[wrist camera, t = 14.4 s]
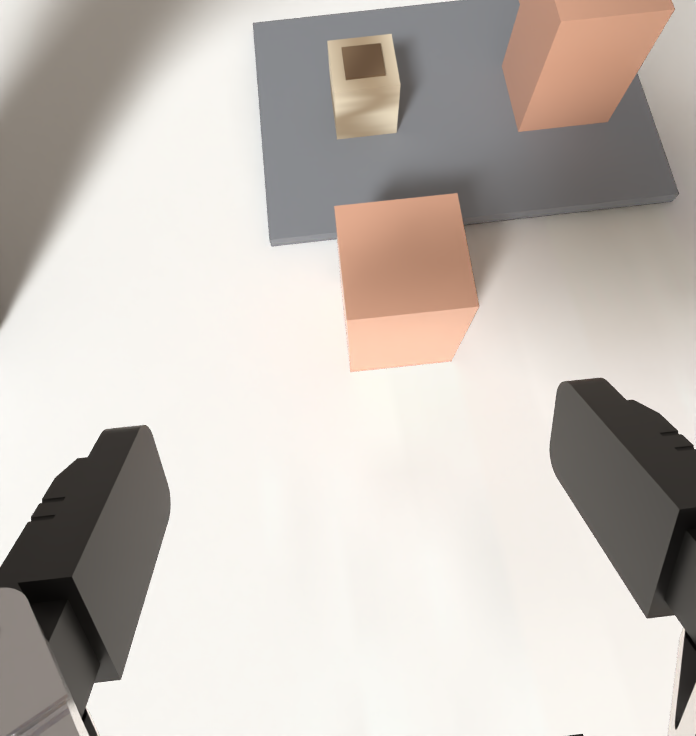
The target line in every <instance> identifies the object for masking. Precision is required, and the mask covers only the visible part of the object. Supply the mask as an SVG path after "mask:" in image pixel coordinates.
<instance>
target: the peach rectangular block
mask: <svg viewBox="0 0 696 736" xmlns="http://www.w3.org/2000/svg"><path fill="white" fill-rule="evenodd" d="M519 3H520V6H519V10H518V13H517V16H516V20H515V23H514V26H513V30H512V33H511V37H510V40H509V43H508V47H507V50H506V53H505V57H504V60H503V63H502V69H503V73H504V77H505V81H506V85H507V89H508V93H509V97H510V101H511V105H512V109H513V113H514V117H515V121H516V125H517V129H518V132H522V131H531V130H540V129H549V128H558V127H568V126H577V125H586V124H595V123H604V122H608V121H609V119H610V117H611V116H612V114H613V112H614V111H615V109H616V107H617V106H618V104H619V102H620V101H621V99H622V97H623V96H624V94H625V92H626V91H627V89H628V87H629V85H630V84H631V82H632V80H633V79H634V77H635V75H636V74H637V72H638V70H639V69H640V67H641V65H642V64H643V62H644V60H645V59H646V57H647V55H648V54H649V52H650V50H651V48H652V47H653V45H654V43H655V42H656V40H657V38H658V37H659V35H660V33H661V32H662V30H663V28H664V27H665V25H666V23H667V22H668V20H669V18H670V17H671V15H672V13H673V12H674V10H675V8H674V6H673V3H672V1H671V0H519Z"/></svg>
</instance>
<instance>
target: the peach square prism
mask: <svg viewBox="0 0 696 736" xmlns="http://www.w3.org/2000/svg"><path fill="white" fill-rule="evenodd" d="M334 210H335V221H336V233H337V244H338V254H339V266H340V277H341V288H342V297H343V307H344V316H345V325H346V334H347V343H348V352H349V361H350V371H351V372H355V371H365V370H374V369H383V368H393V367H402V366H412V365H421V364H430V363H440V362H449V361H452V359H453V357H454V355H455V353H456V351H457V349H458V347H459V345H460V343H461V341H462V339H463V337H464V335H465V333H466V331H467V329H468V327H469V326H470V324H471V322H472V320H473V318H474V316H475V314H476V312H477V310H478V308H479V303H478V298H477V292H476V287H475V282H474V277H473V271H472V266H471V261H470V256H469V251H468V245H467V240H466V235H465V230H464V225H463V219H462V214H461V209H460V204H459V199H458V193H454V194H444V195H435V196H425V197H416V198H406V199H396V200H387V201H377V202H368V203H358V204H349V205H339V206H334Z"/></svg>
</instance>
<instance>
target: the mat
mask: <svg viewBox="0 0 696 736" xmlns="http://www.w3.org/2000/svg"><path fill="white" fill-rule="evenodd" d="M519 6H520V3H519V0H459V1H450V2H441V3H431V4H422V5H413V6H404V7H395V8H385V9H376V10H367V11H358V12H349V13H340V14H330V15H321V16H312V17H303V18H294V19H284V20H275V21H266V22H257V23H253V30H254V43H255V56H256V70H257V83H258V96H259V109H260V122H261V135H262V148H263V161H264V174H265V187H266V200H267V214H268V227H269V240H270V243H271V246H280V245H288V244H297V243H306V242H315V241H324V240H333V239H337V233H336V221H335V210H334V206H339V205H349V204H358V203H368V202H377V201H387V200H396V199H406V198H416V197H425V196H435V195H444V194H454V193H458V199H459V204H460V209H461V214H462V219H463V225H467V224H475V223H484V222H493V221H502V220H511V219H520V218H529V217H538V216H547V215H556V214H565V213H573V212H582V211H591V210H600V209H609V208H618V207H627V206H636V205H645V204H654V203H663V202H671V201H673V200H674V199H675V198H676V197H677V196H678V194H679V192H678V190H677V187H676V184H675V181H674V178H673V175H672V172H671V169H670V166H669V164H668V161H667V158H666V155H665V152H664V149H663V146H662V143H661V140H660V138H659V135H658V132H657V129H656V126H655V123H654V120H653V117H652V114H651V112H650V109H649V106H648V103H647V100H646V97H645V94H644V91H643V88H642V86H641V83H640V80H639V77H638V74H636V75H635V77H634V79H633V80H632V82H631V84H630V85H629V87H628V89H627V91H626V92H625V94H624V96H623V97H622V99H621V101H620V102H619V104H618V106H617V107H616V109H615V111H614V112H613V114H612V116H611V117H610V119H609V121H608V122H604V123H595V124H586V125H577V126H568V127H558V128H549V129H540V130H531V131H522V132H518V129H517V125H516V121H515V117H514V113H513V109H512V105H511V101H510V97H509V93H508V89H507V85H506V81H505V77H504V73H503V69H502V63H503V60H504V57H505V53H506V50H507V47H508V43H509V40H510V37H511V33H512V30H513V26H514V23H515V20H516V16H517V13H518V10H519ZM385 34H392V39H393V45H394V51H395V56H396V62H397V68H398V73H399V79H400V85H401V86H400V97H399V109H398V121H397V133H391V134H382V135H373V136H364V137H355V138H346V139H337V136H336V128H335V120H334V112H333V104H332V96H331V86H330V72H329V58H328V44H327V41H330V40H339V39H348V38H357V37H367V36H376V35H385Z"/></svg>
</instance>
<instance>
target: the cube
mask: <svg viewBox="0 0 696 736" xmlns="http://www.w3.org/2000/svg"><path fill="white" fill-rule="evenodd" d="M327 44H328V58H329V72H330V86H331V96H332V104H333V112H334V120H335V128H336V136H337V139H346V138H355V137H364V136H373V135H382V134H391V133H397V121H398V109H399V97H400V86H401V85H400V79H399V73H398V68H397V62H396V56H395V51H394V45H393V39H392V34H385V35H376V36H367V37H357V38H348V39H339V40H330V41H327Z"/></svg>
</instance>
